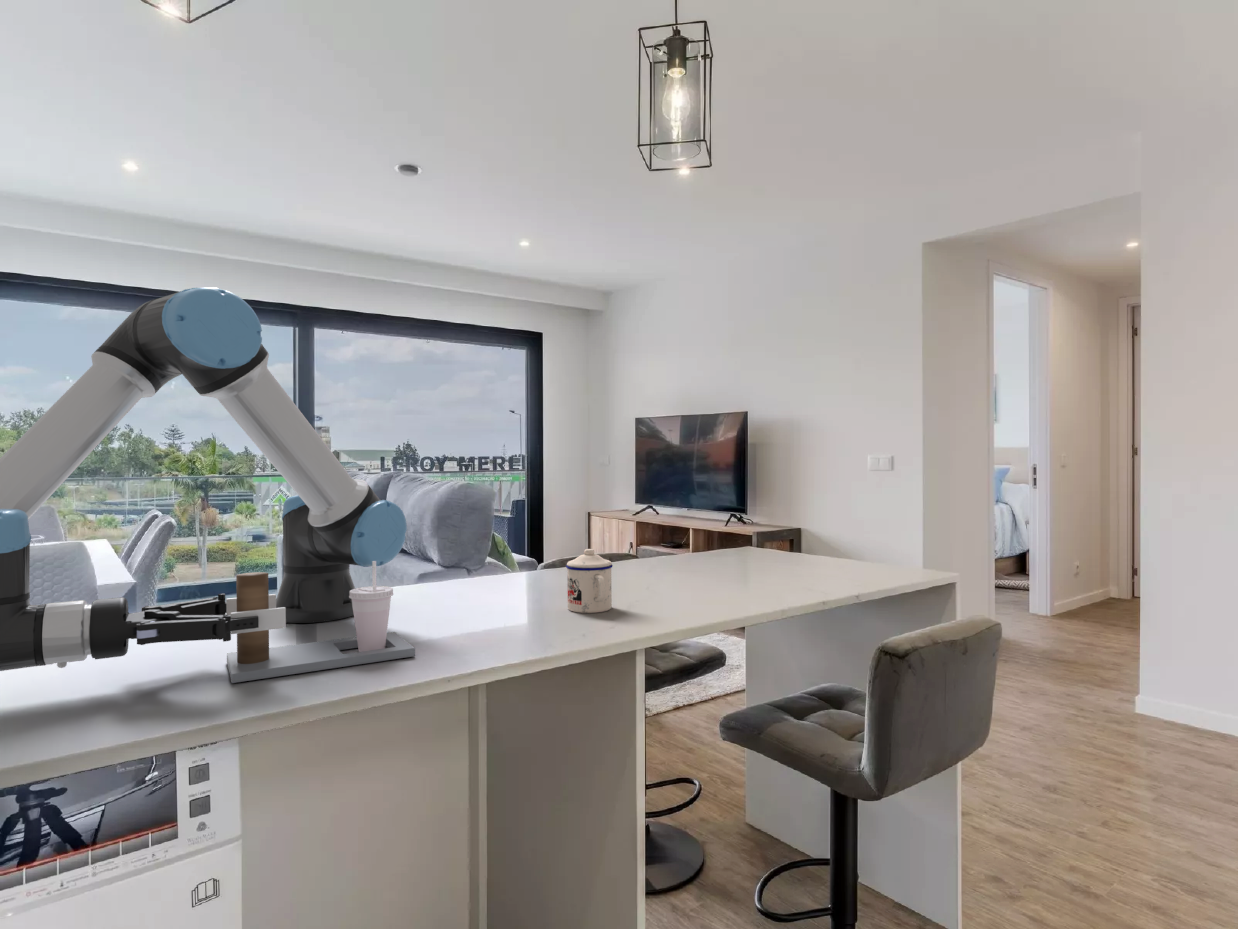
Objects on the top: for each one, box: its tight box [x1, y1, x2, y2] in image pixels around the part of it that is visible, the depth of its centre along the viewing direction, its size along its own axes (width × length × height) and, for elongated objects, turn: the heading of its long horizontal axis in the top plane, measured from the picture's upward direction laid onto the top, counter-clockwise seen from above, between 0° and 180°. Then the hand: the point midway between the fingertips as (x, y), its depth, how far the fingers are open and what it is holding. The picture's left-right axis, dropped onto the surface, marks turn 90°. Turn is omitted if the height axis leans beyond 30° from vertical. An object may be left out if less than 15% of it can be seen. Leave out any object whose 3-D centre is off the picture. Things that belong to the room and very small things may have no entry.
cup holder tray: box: [226, 571, 416, 684], centre depth 105 cm, size 12×24×13 cm, turn 121°
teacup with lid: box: [565, 548, 613, 614], centre depth 139 cm, size 12×9×12 cm
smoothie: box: [349, 561, 394, 652], centre depth 109 cm, size 6×6×14 cm
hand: (280, 610), depth 103 cm, fingers open, 11 cm apart
